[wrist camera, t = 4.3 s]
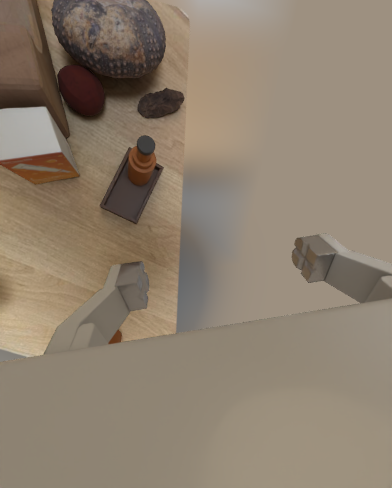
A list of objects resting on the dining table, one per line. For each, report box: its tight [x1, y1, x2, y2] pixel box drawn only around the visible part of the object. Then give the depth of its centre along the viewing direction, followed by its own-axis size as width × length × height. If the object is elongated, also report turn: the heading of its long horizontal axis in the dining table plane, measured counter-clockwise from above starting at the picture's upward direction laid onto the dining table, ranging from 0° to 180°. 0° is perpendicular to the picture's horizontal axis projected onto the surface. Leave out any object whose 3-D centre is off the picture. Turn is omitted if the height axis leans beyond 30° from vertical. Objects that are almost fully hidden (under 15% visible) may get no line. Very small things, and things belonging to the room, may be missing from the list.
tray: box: [100, 147, 164, 224], centre depth 42 cm, size 14×8×3 cm, turn 155°
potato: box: [57, 65, 105, 116], centre depth 36 cm, size 7×8×7 cm
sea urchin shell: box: [51, 0, 166, 79], centre depth 35 cm, size 19×19×10 cm
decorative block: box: [0, 0, 69, 138], centre depth 29 cm, size 15×8×30 cm
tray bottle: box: [128, 135, 156, 186], centre depth 36 cm, size 5×5×16 cm
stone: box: [138, 88, 184, 118], centre depth 44 cm, size 11×2×5 cm
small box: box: [0, 107, 80, 185], centre depth 32 cm, size 8×6×13 cm
